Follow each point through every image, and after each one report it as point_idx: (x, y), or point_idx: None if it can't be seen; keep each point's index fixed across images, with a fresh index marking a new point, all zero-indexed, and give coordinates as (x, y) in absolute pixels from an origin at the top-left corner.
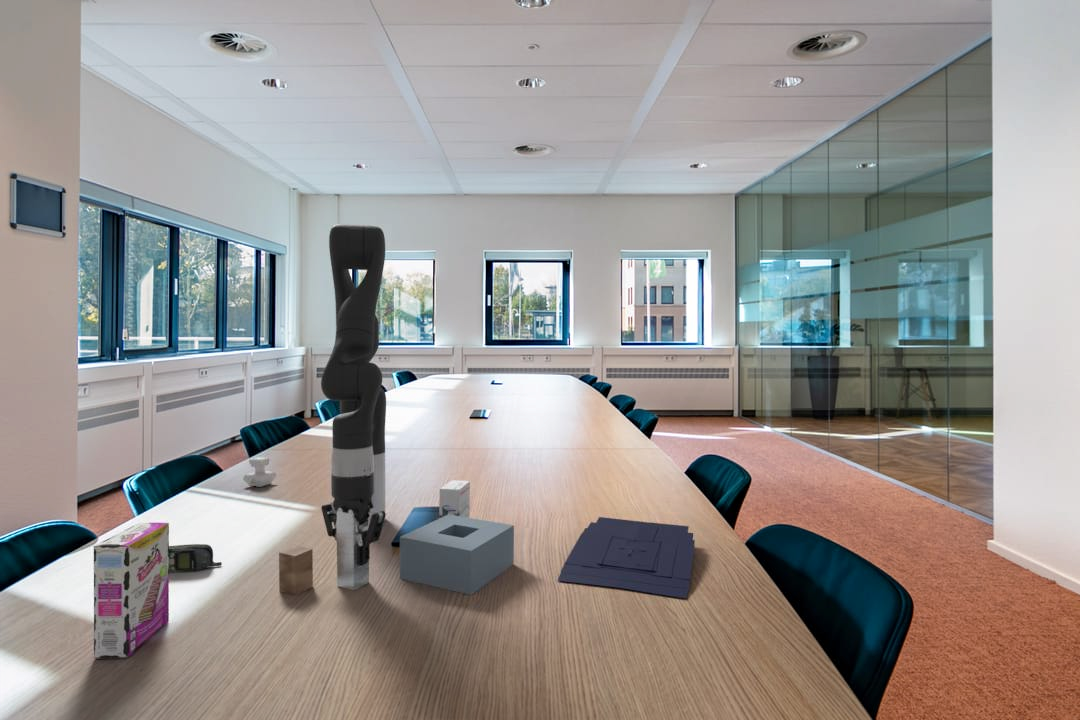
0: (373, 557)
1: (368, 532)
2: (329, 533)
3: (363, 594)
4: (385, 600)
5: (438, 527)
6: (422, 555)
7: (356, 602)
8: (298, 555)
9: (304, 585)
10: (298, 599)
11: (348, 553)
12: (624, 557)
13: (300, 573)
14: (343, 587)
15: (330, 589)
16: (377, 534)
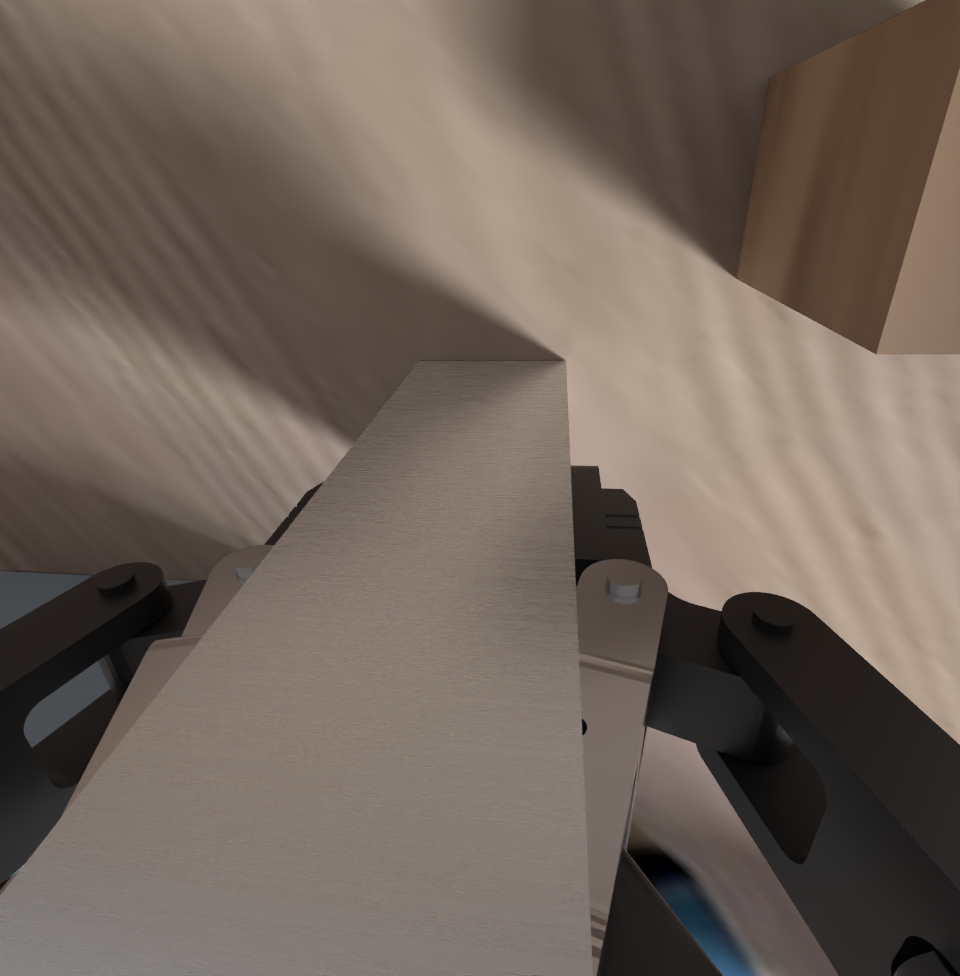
0: (655, 732)
1: (9, 666)
2: (775, 615)
3: (322, 344)
4: (151, 340)
5: None
6: (73, 696)
7: (261, 227)
8: (951, 61)
9: (764, 191)
10: (678, 19)
11: (406, 464)
12: None
13: (822, 134)
14: (508, 361)
15: (572, 300)
16: (95, 717)
